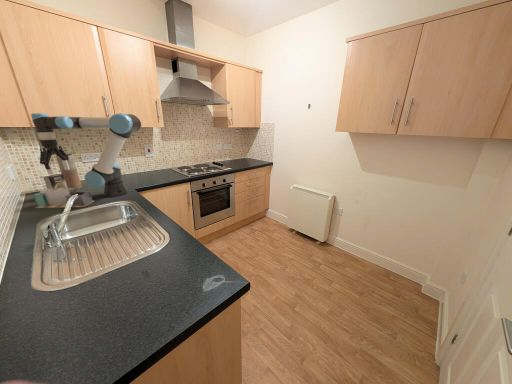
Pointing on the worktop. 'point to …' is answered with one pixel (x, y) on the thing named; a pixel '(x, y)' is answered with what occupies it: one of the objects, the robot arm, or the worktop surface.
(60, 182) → the coffee box
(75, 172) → the vase
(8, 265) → the worktop surface
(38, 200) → the socket
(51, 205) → the board
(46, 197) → the tube
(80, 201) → the sleeve
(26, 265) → the worktop surface
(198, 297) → the worktop surface
